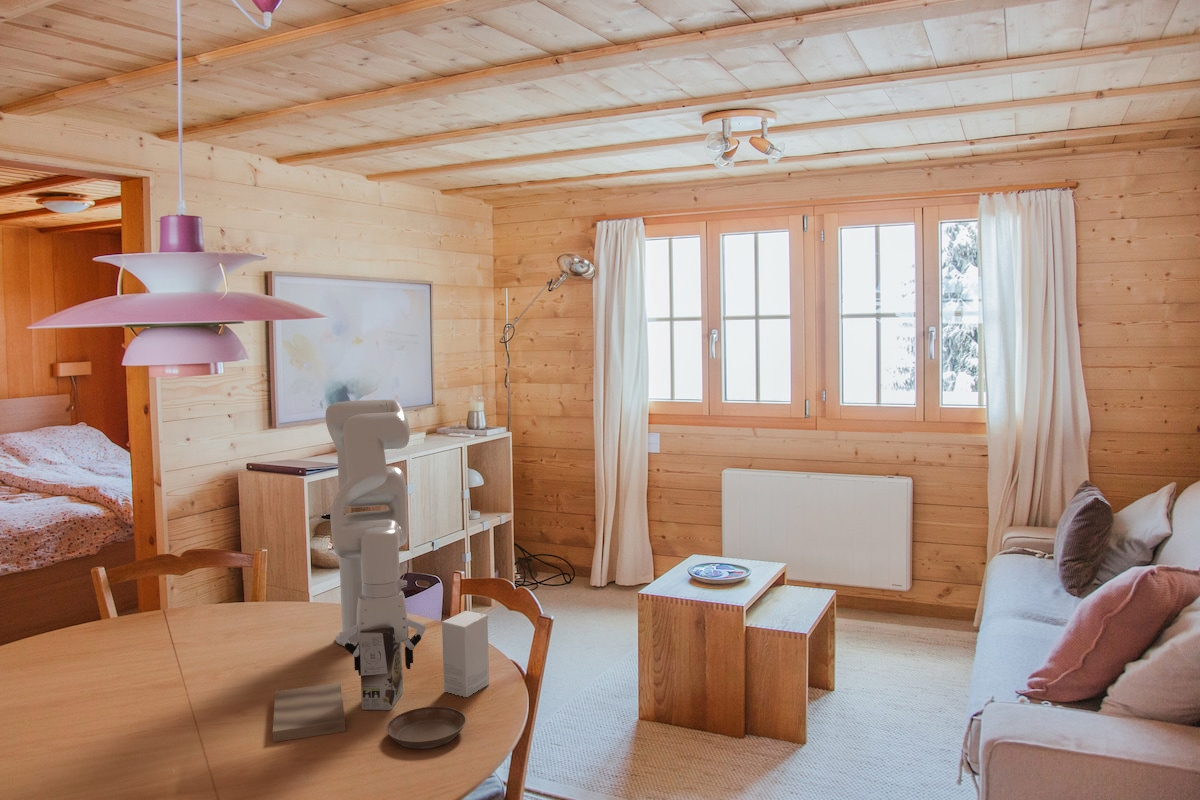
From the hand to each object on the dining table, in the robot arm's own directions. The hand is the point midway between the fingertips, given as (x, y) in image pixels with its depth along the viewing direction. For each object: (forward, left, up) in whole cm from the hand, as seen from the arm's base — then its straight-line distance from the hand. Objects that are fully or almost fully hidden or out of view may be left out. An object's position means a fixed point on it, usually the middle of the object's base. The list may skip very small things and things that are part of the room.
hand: (384, 670), depth 186 cm
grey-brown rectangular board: (+2, -15, -6) cm, 16 cm away
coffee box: (0, 0, -7) cm, 7 cm away
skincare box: (0, +17, -7) cm, 18 cm away
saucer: (+19, +6, -7) cm, 21 cm away
